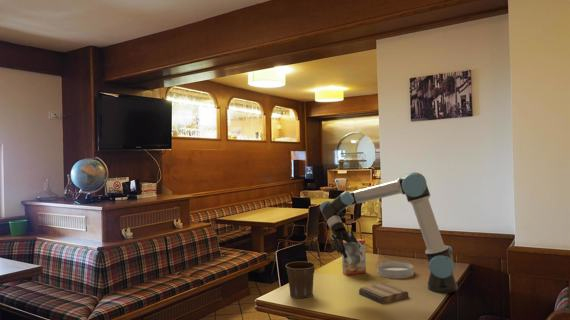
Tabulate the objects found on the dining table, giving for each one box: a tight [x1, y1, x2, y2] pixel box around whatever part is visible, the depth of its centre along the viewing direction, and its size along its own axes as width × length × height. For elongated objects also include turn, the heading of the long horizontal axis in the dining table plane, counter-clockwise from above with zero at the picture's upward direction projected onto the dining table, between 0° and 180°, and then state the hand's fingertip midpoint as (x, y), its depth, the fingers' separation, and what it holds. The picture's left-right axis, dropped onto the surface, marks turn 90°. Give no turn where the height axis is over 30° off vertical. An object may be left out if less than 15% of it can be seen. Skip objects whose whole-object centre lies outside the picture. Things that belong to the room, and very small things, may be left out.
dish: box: [376, 261, 415, 279], centre depth 248 cm, size 22×22×5 cm
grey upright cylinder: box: [342, 242, 362, 270], centre depth 205 cm, size 7×7×13 cm
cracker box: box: [341, 238, 367, 276], centre depth 253 cm, size 14×6×21 cm, turn 105°
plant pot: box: [285, 261, 316, 299], centre depth 216 cm, size 16×16×16 cm
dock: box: [358, 282, 409, 304], centre depth 209 cm, size 18×18×3 cm
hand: (356, 261), depth 202 cm, fingers closed on grey upright cylinder, 6 cm apart
